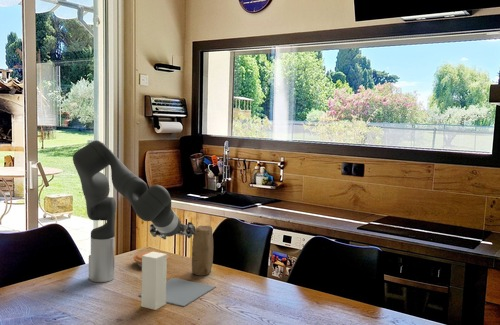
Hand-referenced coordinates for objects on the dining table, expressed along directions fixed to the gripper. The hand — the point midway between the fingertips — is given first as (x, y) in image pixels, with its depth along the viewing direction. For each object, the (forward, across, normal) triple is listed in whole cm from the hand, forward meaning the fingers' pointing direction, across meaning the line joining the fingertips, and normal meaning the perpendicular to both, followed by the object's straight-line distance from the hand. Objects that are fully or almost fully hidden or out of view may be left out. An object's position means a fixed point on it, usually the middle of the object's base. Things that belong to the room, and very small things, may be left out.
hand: (177, 235), depth 157 cm
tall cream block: (+12, +10, +21) cm, 26 cm away
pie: (+50, +23, -2) cm, 55 cm away
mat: (+24, +4, +14) cm, 29 cm away
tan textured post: (+45, -1, +3) cm, 45 cm away
